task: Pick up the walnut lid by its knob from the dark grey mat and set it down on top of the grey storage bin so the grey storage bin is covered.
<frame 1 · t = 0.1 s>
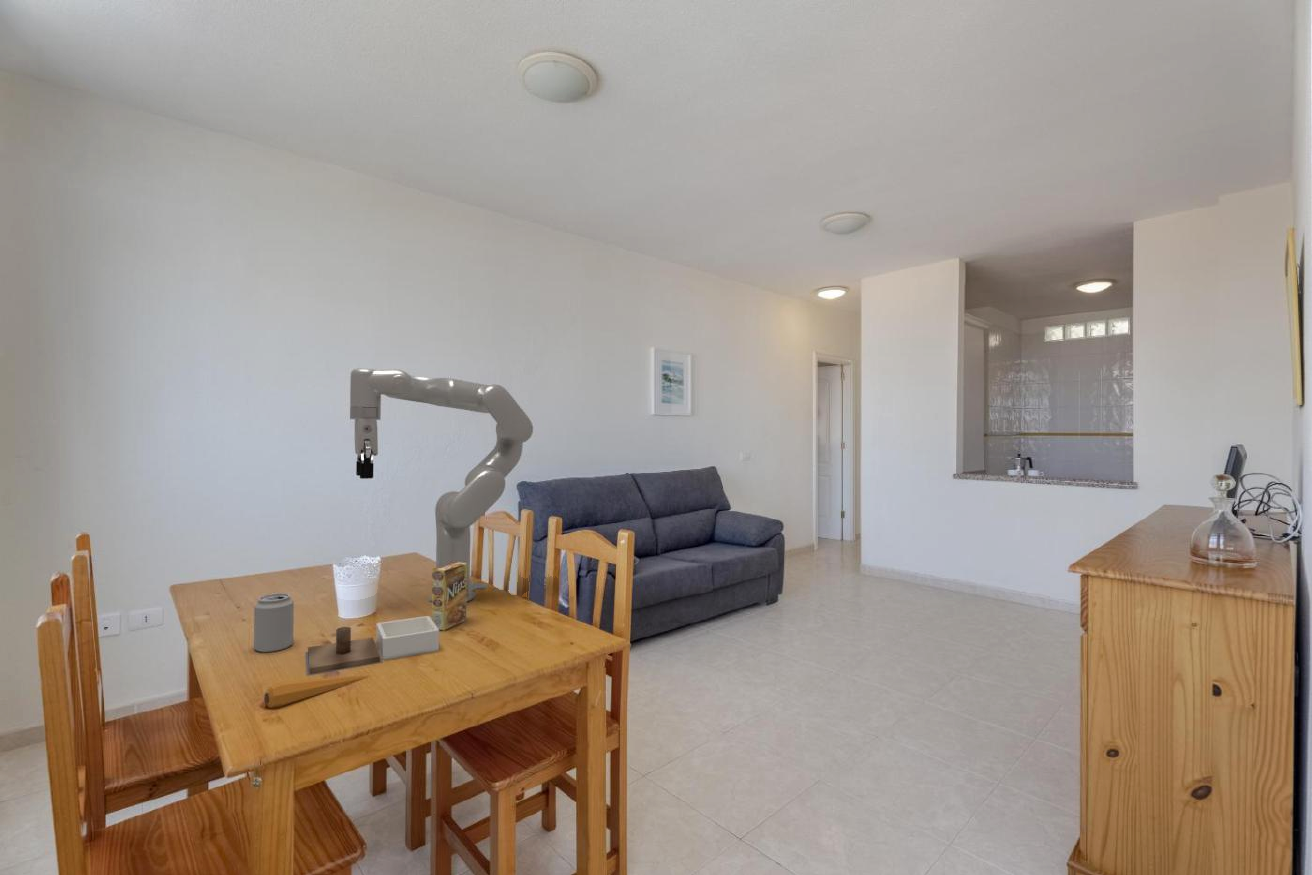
hand: (364, 476, 161), 37 cm above the table, tool pointing down, fingers open, 9 cm apart
can: (273, 649, 134), on the table
lid: (343, 657, 129), resting on mat
mat: (343, 658, 129), on the table
grey storage bin: (407, 648, 136), on the table
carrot: (325, 694, 113), on the table
candy box: (449, 625, 152), on the table
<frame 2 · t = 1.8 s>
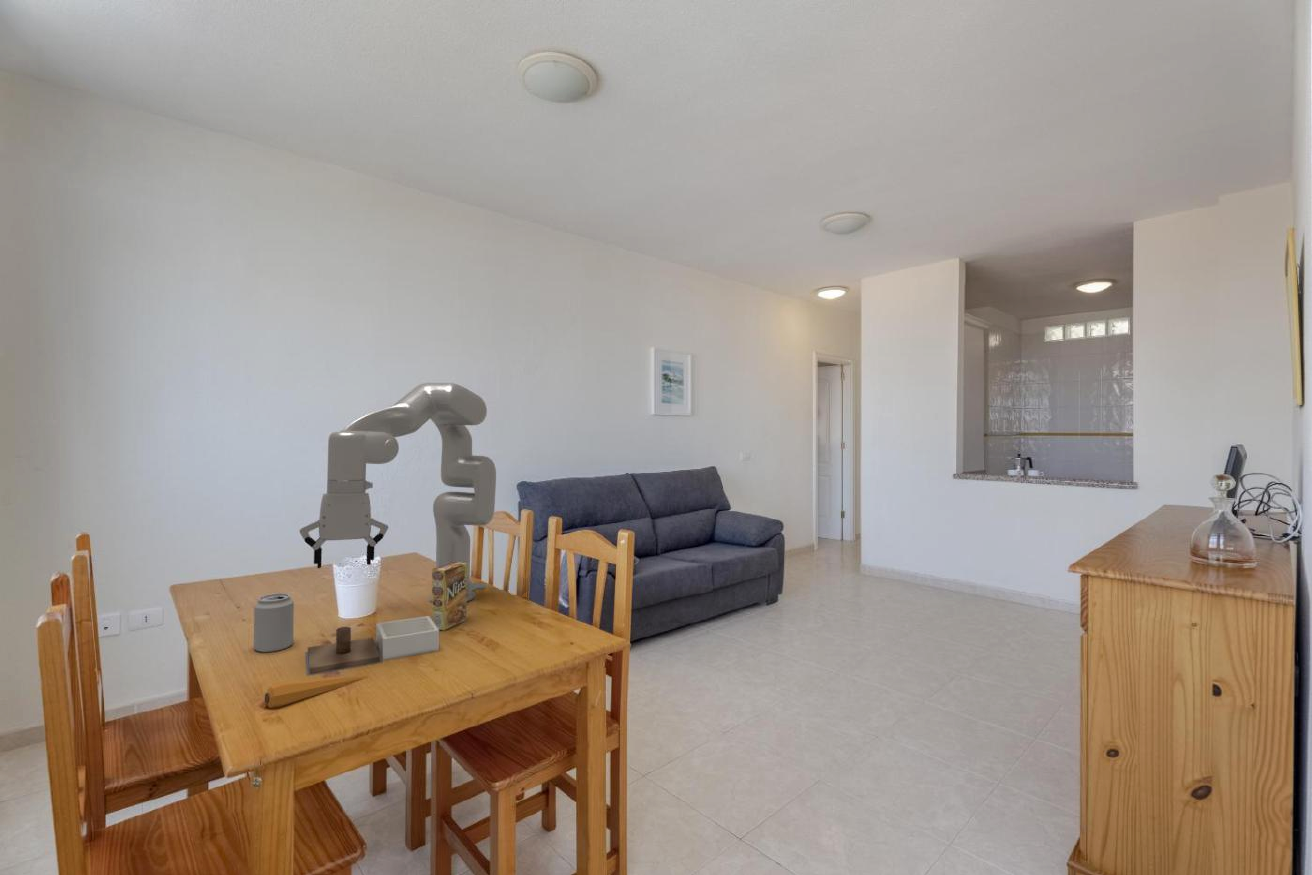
hand: (344, 565, 130), 20 cm above the table, tool pointing down, fingers open, 9 cm apart
nothing on the table moved.
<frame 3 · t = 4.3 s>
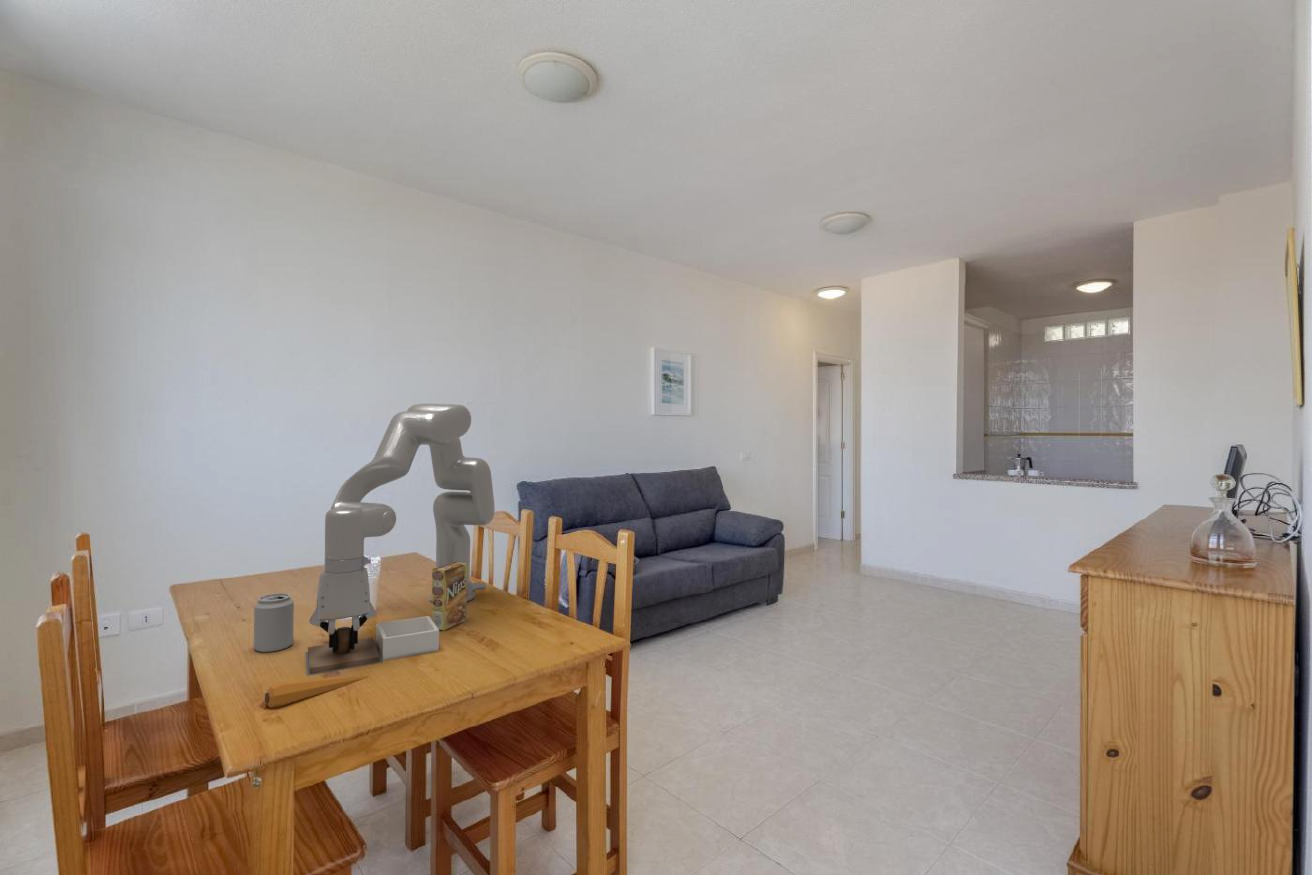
hand: (343, 648, 129), 2 cm above the table, tool pointing down, fingers closed on lid, 2 cm apart
lid: (343, 657, 129), resting on mat, touching gripper
everything else where it was.
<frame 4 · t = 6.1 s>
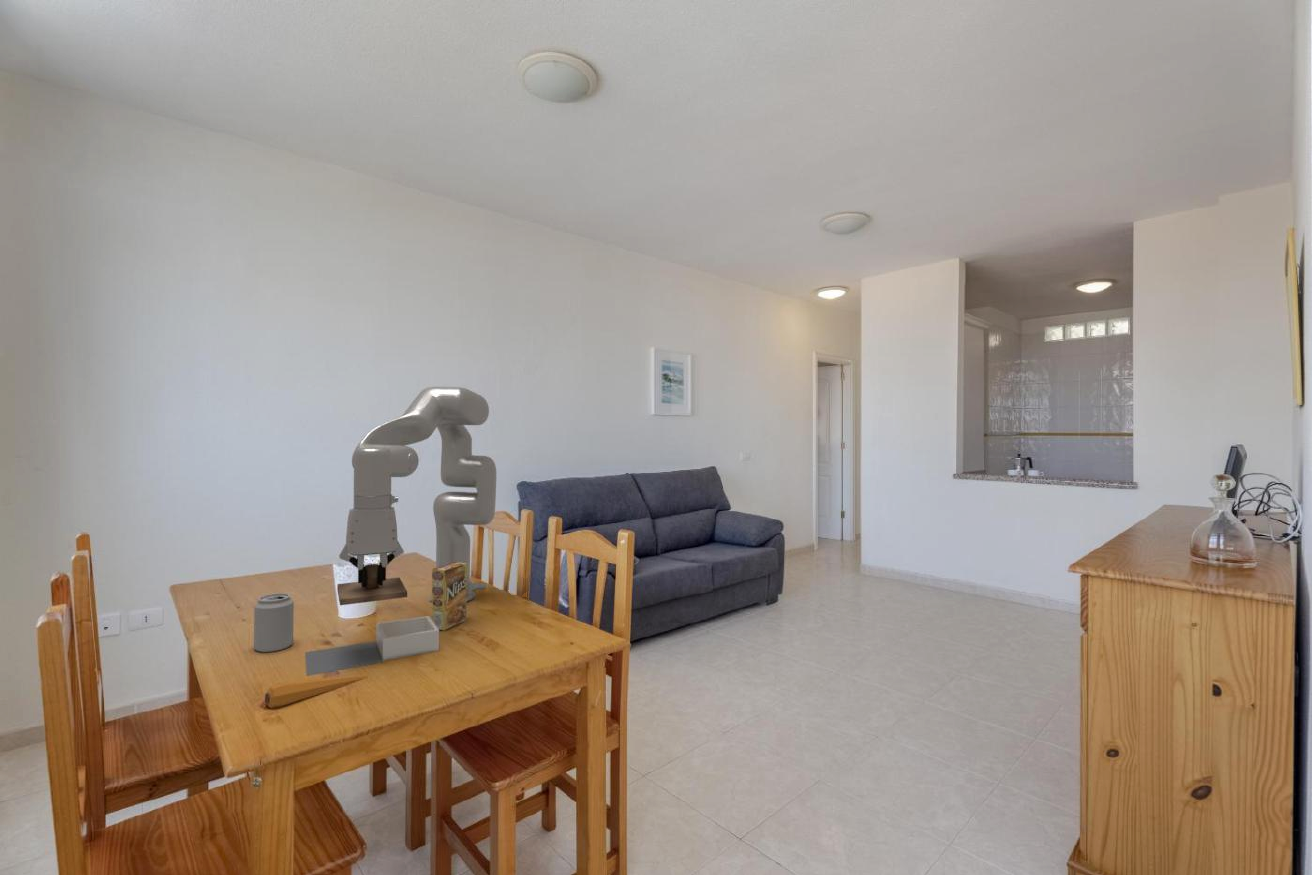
hand: (371, 584, 131), 16 cm above the table, tool pointing down, fingers closed on lid, 2 cm apart
lid: (371, 593, 131), point 14 cm above the table, touching gripper
everything else where it was.
when the fingers open (8 cm above the table, at t = 8.2 s): lid stays where it is, point 6 cm above the table.
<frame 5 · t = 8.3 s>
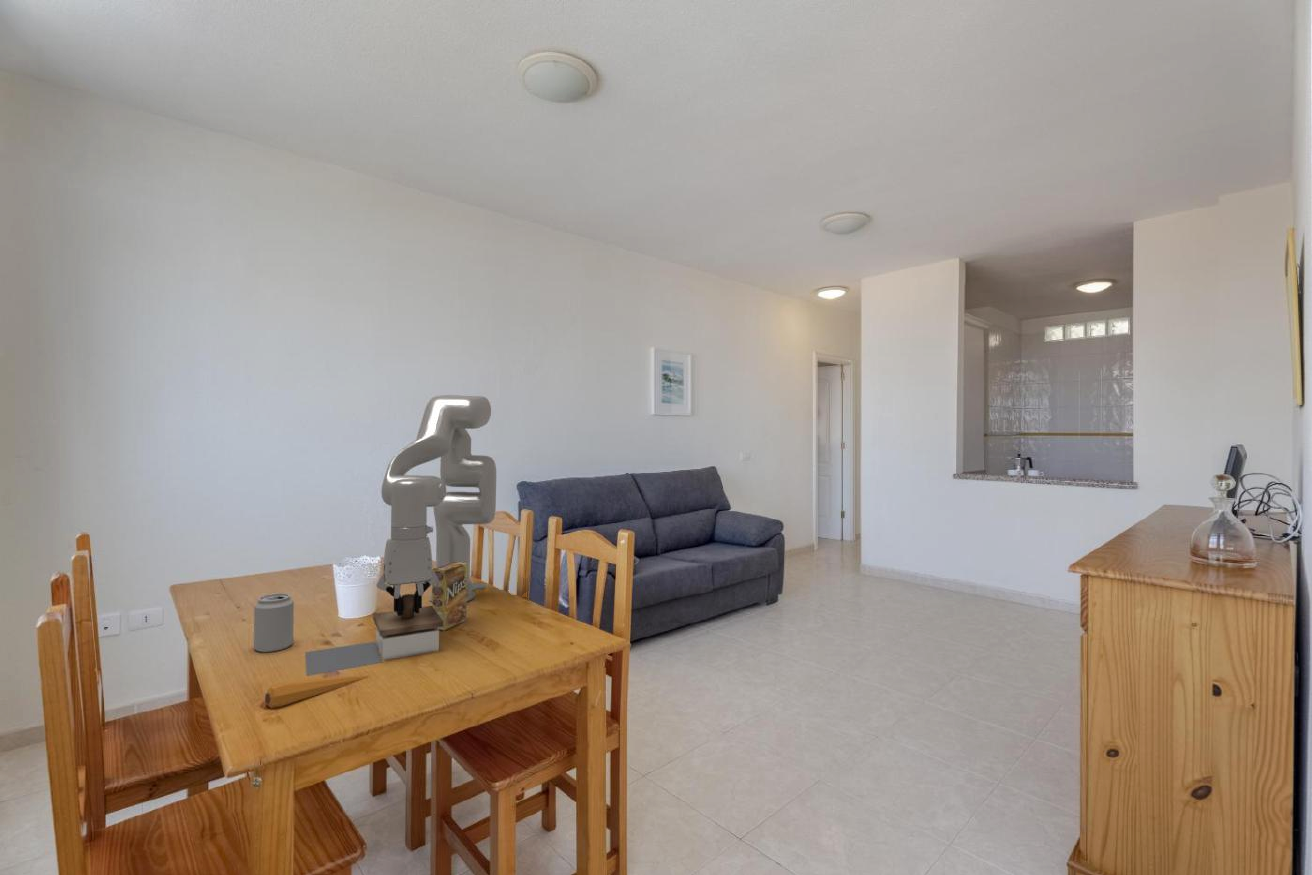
hand: (407, 612, 135), 8 cm above the table, tool pointing down, fingers open, 3 cm apart
lid: (407, 622, 135), point 6 cm above the table
everything else where it was.
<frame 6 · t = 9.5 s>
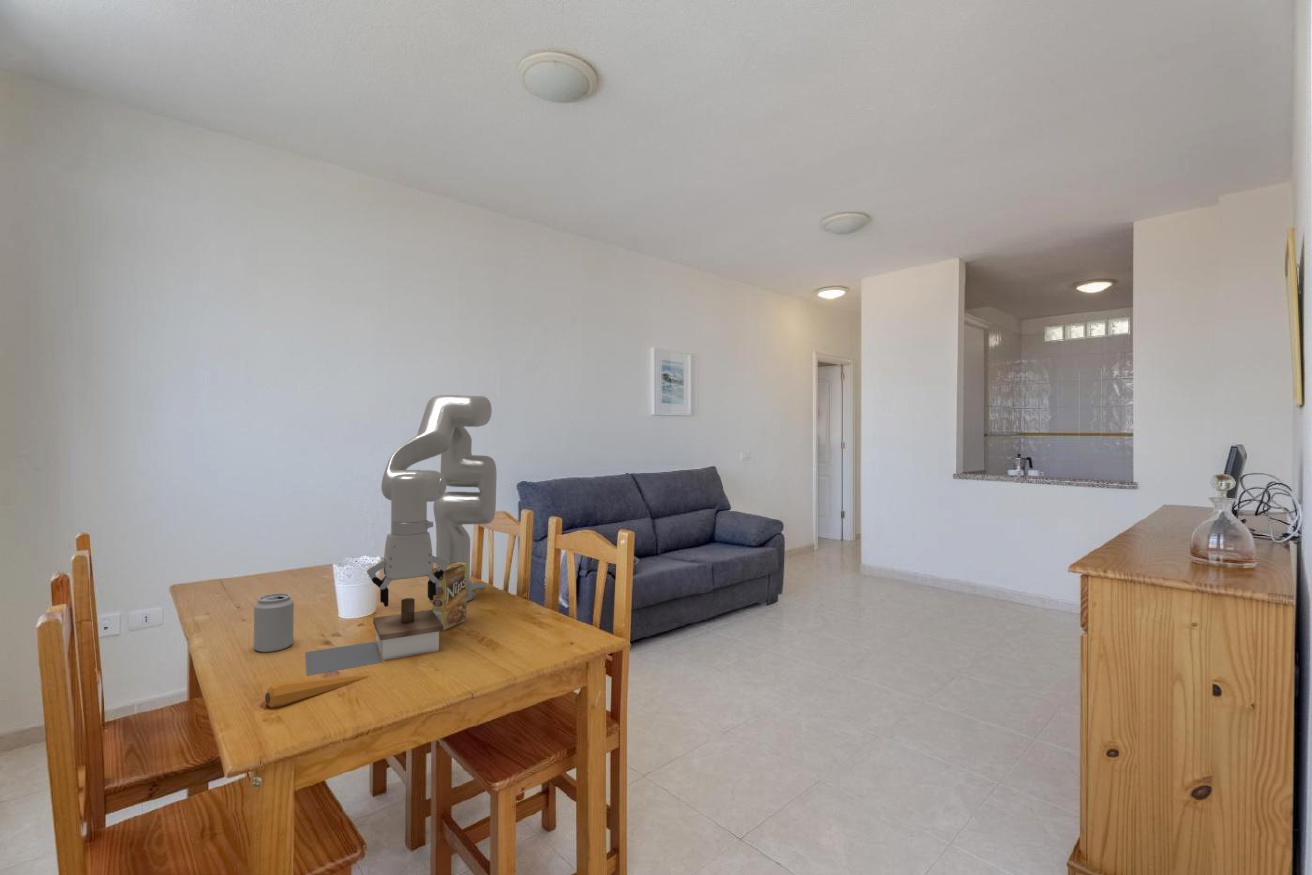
hand: (408, 601, 136), 11 cm above the table, tool pointing down, fingers open, 9 cm apart
lid: (407, 626, 135), point 5 cm above the table, touching grey storage bin
everything else where it was.
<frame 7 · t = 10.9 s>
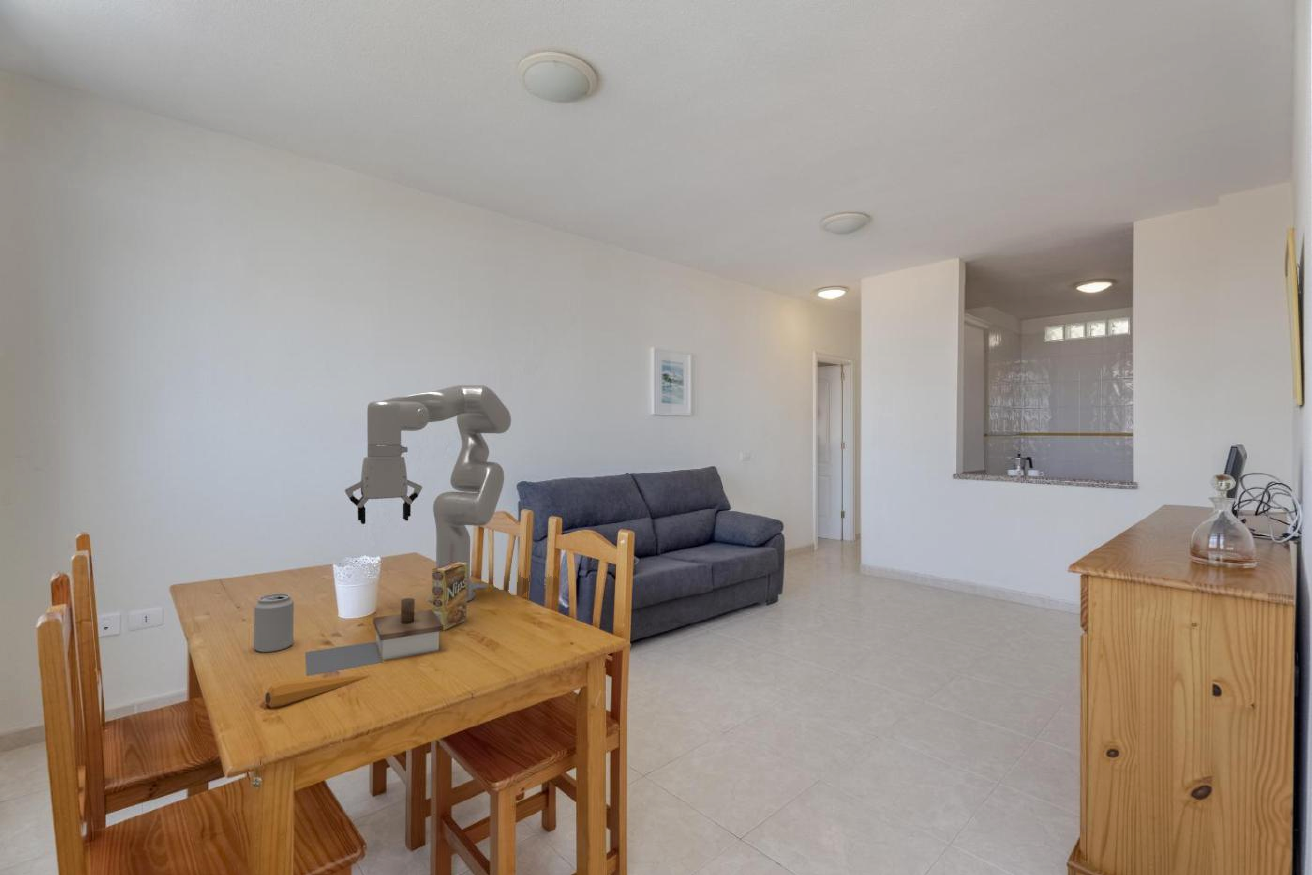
hand: (384, 521, 145), 27 cm above the table, tool pointing down, fingers open, 9 cm apart
nothing on the table moved.
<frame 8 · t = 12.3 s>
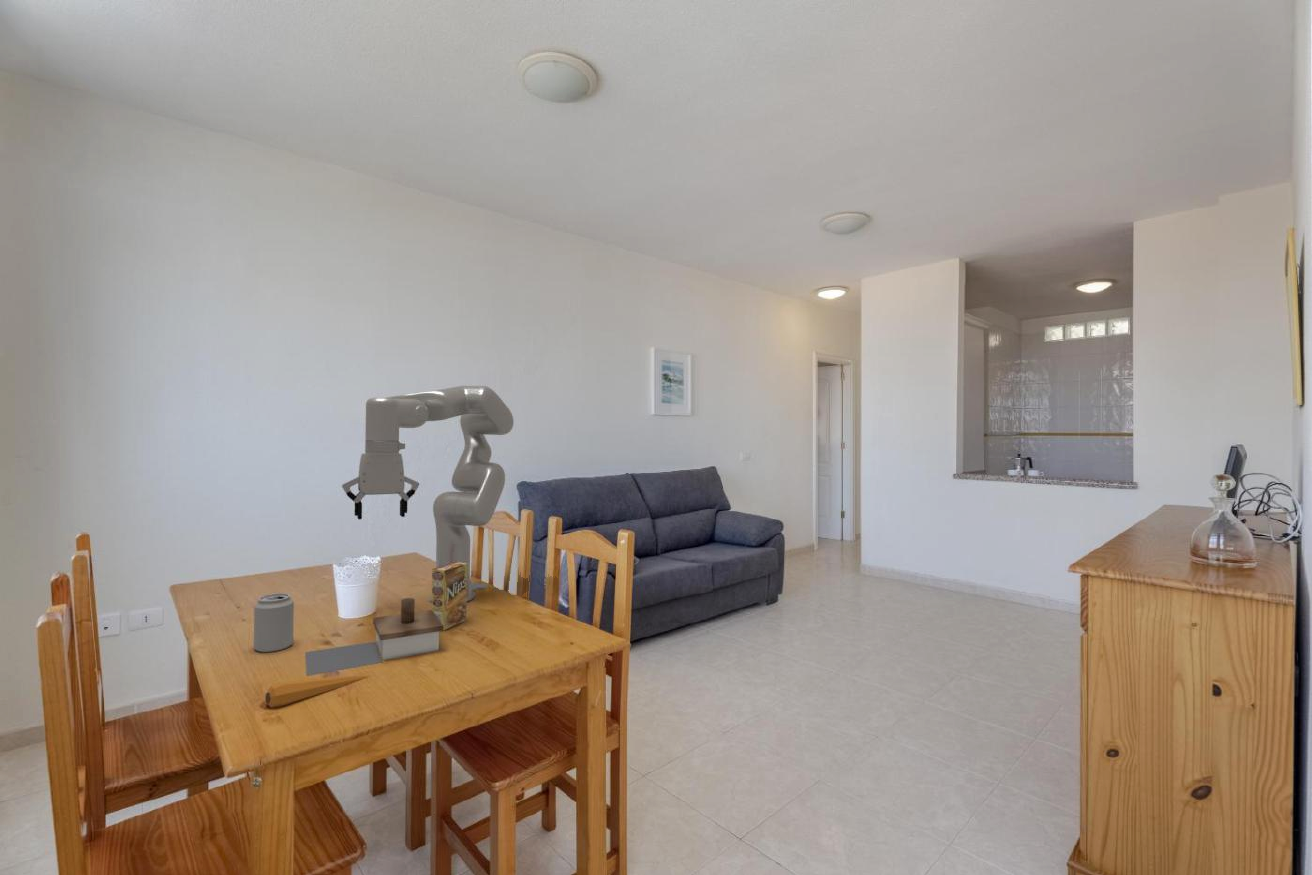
hand: (381, 517, 146), 28 cm above the table, tool pointing down, fingers open, 9 cm apart
nothing on the table moved.
at the end: lid 0.0 cm off-centre on the grey storage bin, point 5.0 cm above the grey storage bin's base; lid tilted 0°; the gripper is holding nothing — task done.
